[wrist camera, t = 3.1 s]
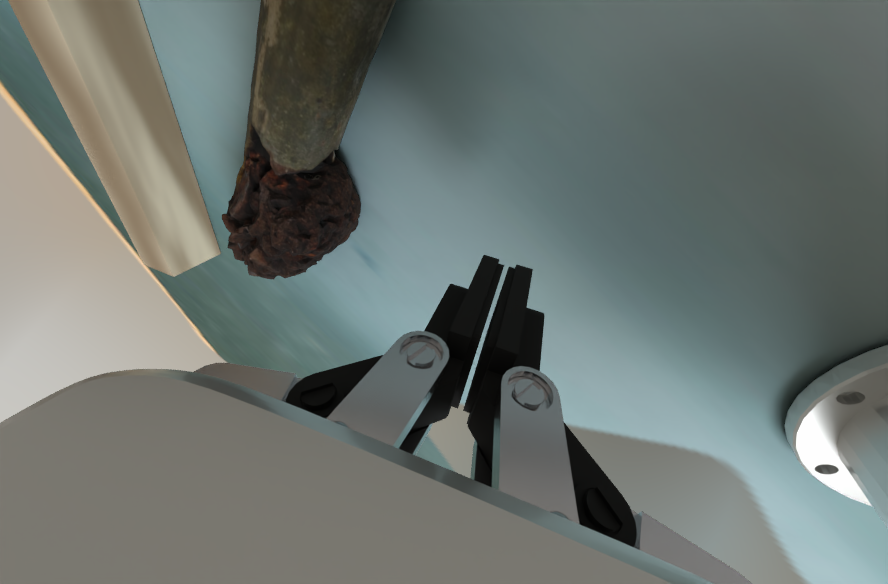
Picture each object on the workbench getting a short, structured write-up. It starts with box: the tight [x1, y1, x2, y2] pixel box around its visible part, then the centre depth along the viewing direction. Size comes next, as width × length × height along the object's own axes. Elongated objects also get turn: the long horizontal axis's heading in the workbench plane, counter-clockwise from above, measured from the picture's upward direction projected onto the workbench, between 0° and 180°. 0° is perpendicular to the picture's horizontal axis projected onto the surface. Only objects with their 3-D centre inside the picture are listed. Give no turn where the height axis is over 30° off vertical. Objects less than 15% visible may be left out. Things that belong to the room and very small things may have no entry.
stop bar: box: [8, 0, 221, 277], centre depth 19 cm, size 3×20×4 cm, turn 171°
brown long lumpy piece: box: [222, 0, 396, 279], centre depth 16 cm, size 18×7×6 cm, turn 148°
